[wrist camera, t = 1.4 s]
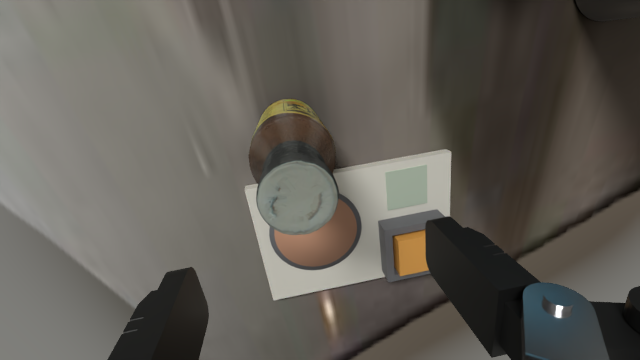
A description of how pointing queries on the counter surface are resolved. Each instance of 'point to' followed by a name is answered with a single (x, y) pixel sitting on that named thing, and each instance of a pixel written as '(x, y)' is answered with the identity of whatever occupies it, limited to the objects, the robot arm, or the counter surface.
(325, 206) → the sauce bottle
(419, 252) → the button
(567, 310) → the robot arm
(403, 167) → the white control panel
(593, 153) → the counter surface
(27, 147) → the counter surface
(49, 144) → the counter surface
